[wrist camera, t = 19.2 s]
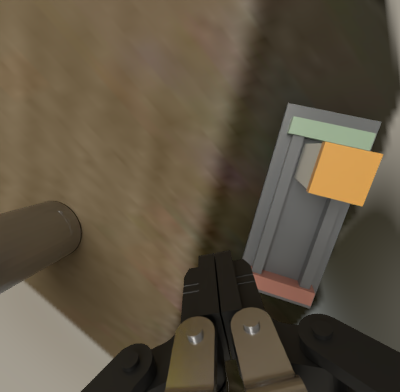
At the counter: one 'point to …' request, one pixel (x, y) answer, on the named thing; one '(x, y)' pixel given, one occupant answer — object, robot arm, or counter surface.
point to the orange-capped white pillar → (337, 171)
